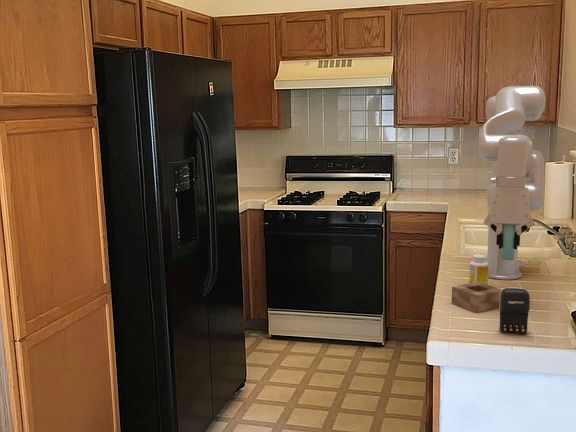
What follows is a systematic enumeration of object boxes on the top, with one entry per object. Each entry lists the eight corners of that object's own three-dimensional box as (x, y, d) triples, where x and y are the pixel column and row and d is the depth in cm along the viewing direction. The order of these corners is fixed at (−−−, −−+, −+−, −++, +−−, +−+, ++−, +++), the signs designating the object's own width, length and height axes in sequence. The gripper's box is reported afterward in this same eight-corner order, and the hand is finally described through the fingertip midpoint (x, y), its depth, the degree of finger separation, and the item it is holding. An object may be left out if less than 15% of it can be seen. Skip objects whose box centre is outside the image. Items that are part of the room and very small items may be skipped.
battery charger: (499, 334, 157) (501, 290, 155) (497, 329, 160) (499, 286, 158) (529, 336, 155) (531, 291, 153) (526, 331, 159) (529, 287, 157)
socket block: (477, 298, 187) (478, 281, 186) (503, 307, 178) (503, 290, 177) (451, 303, 182) (451, 286, 181) (476, 313, 173) (477, 295, 172)
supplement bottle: (490, 287, 197) (492, 255, 196) (482, 291, 193) (483, 258, 192) (474, 284, 201) (475, 252, 199) (465, 288, 197) (466, 256, 195)
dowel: (509, 257, 178) (511, 215, 176) (516, 259, 175) (518, 217, 172) (498, 258, 177) (500, 215, 175) (505, 260, 174) (507, 217, 172)
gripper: (479, 183, 171) (476, 249, 174) (544, 184, 166) (540, 252, 169) (479, 180, 178) (476, 243, 181) (541, 181, 173) (538, 246, 177)
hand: (507, 247), depth 175 cm, fingers closed on dowel, 3 cm apart
